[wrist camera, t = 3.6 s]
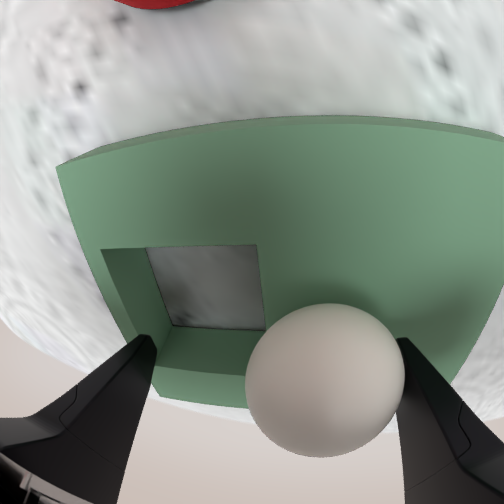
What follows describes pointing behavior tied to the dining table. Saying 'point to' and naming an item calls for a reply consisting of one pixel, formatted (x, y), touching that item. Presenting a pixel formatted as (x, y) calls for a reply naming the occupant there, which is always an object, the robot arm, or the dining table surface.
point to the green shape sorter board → (298, 231)
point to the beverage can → (153, 3)
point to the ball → (324, 380)
